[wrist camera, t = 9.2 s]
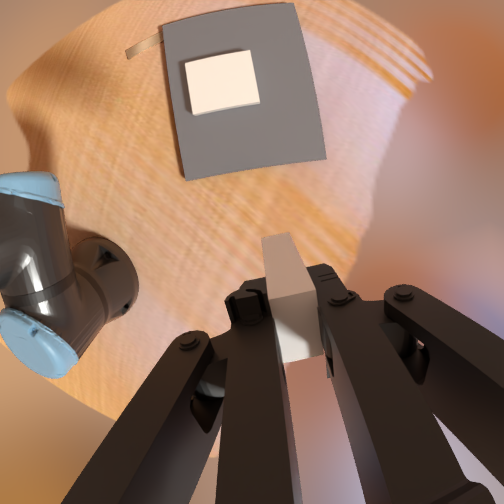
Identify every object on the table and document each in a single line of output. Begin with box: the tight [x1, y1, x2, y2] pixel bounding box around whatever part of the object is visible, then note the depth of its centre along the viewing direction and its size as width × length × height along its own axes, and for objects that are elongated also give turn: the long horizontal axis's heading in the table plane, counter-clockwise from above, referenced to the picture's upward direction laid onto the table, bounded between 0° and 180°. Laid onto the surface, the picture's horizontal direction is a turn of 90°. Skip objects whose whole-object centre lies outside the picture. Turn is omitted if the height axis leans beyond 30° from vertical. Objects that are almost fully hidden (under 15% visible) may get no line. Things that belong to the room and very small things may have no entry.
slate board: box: [162, 3, 327, 181], centre depth 34 cm, size 20×26×1 cm
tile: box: [185, 50, 260, 116], centre depth 32 cm, size 2×8×9 cm
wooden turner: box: [126, 31, 164, 59], centre depth 31 cm, size 20×6×1 cm, turn 110°
